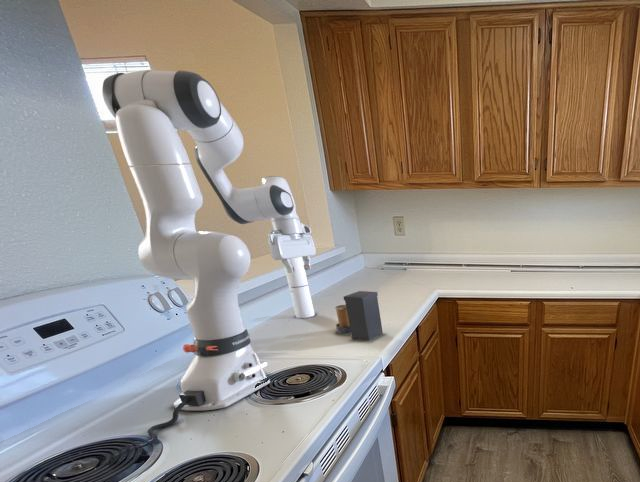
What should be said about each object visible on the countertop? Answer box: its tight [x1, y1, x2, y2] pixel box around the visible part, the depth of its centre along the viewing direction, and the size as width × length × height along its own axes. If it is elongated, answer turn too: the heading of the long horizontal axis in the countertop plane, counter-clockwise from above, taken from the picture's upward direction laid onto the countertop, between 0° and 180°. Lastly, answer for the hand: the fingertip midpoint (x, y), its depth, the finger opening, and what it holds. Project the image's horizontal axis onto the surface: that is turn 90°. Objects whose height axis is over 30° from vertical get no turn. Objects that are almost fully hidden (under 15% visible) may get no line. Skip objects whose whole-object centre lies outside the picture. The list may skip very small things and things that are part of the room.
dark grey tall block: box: [343, 290, 384, 342], centre depth 142 cm, size 8×7×15 cm
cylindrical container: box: [283, 257, 316, 319], centre depth 169 cm, size 7×7×25 cm
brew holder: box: [335, 322, 351, 335], centre depth 151 cm, size 7×7×3 cm
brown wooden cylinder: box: [334, 304, 350, 327], centre depth 149 cm, size 5×5×9 cm
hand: (300, 271), depth 145 cm, fingers open, 8 cm apart
